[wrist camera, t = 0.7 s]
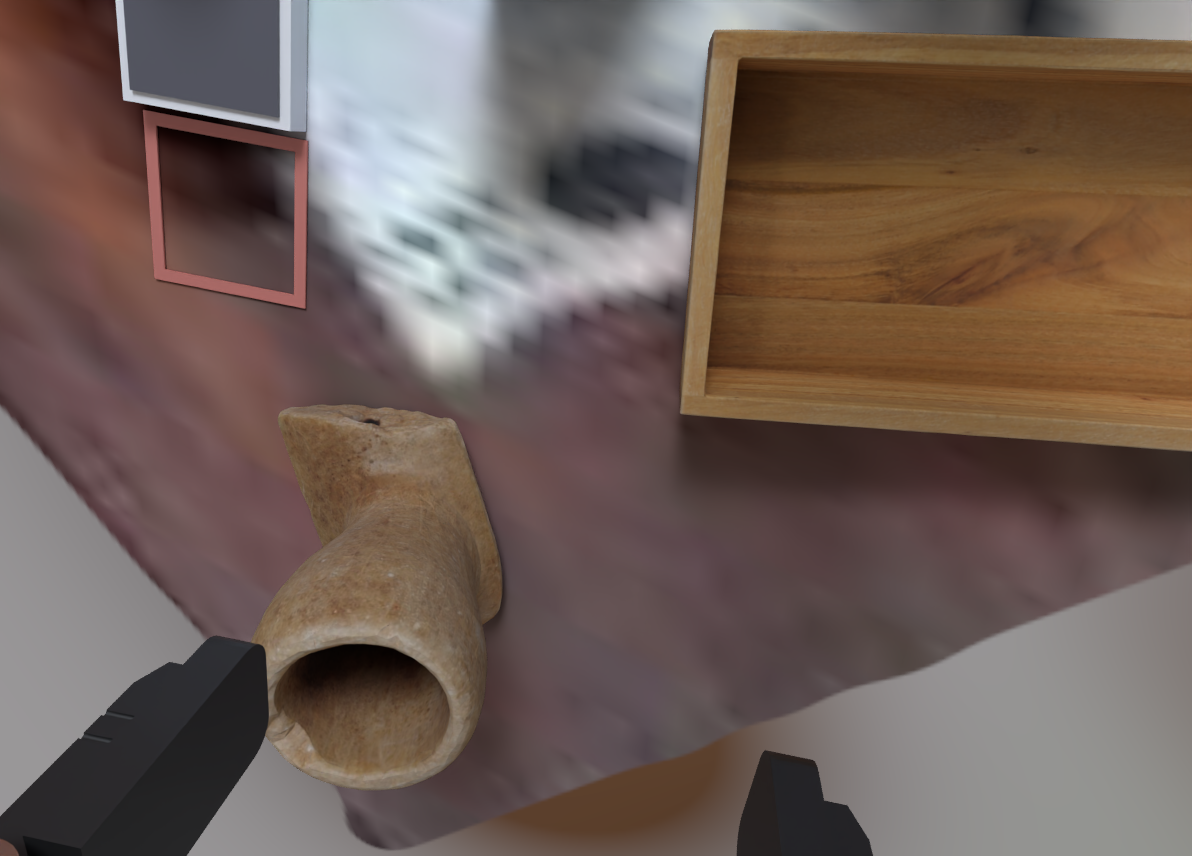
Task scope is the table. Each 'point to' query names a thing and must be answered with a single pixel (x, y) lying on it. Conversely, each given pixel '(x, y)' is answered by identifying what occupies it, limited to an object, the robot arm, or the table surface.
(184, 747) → the robot arm
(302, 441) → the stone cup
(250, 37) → the ink pad
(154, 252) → the marked square
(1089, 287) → the tray
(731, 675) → the table surface
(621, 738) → the table surface
